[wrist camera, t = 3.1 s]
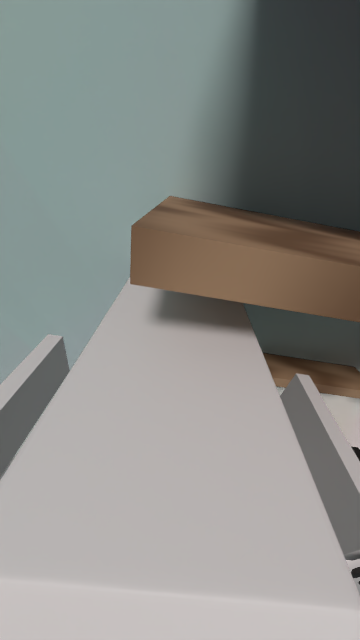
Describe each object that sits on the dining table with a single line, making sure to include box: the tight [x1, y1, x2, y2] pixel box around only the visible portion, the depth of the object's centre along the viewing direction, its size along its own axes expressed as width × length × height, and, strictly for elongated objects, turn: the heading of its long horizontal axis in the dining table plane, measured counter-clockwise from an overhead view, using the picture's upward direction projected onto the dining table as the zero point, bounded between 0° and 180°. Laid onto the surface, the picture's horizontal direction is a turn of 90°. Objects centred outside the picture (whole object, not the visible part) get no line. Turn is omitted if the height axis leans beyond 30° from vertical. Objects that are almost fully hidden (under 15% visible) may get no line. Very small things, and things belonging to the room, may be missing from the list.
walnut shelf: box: [130, 196, 360, 398], centre depth 13 cm, size 24×12×10 cm, turn 81°
